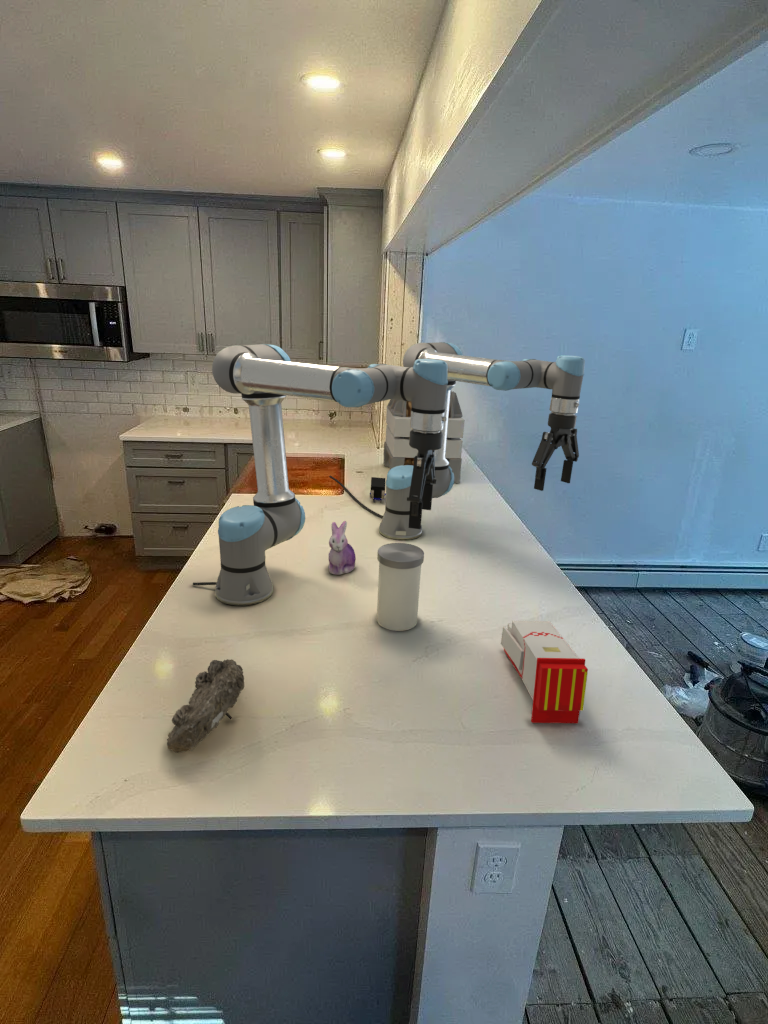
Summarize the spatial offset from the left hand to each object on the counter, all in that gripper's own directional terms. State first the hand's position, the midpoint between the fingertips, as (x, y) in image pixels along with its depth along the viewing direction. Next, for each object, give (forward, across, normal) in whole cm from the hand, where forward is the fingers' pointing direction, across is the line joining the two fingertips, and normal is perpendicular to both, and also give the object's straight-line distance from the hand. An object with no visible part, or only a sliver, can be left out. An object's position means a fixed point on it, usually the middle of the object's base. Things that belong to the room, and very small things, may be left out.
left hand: (420, 518), depth 135 cm
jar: (+28, -1, +4) cm, 28 cm away
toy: (+28, -16, -30) cm, 44 cm away
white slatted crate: (+28, +136, +25) cm, 141 cm away
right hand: (0, +41, -31) cm, 51 cm away
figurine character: (+28, +91, +34) cm, 101 cm away
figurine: (+28, +22, +27) cm, 45 cm away
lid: (+9, -1, +4) cm, 10 cm away
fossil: (+28, -47, +29) cm, 62 cm away
